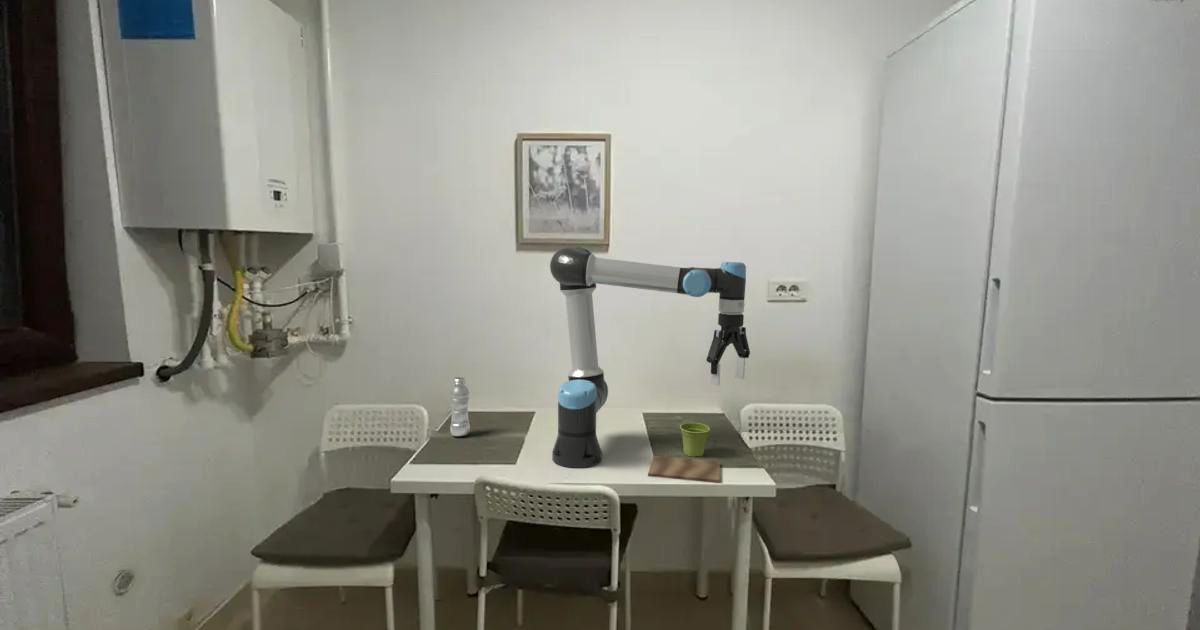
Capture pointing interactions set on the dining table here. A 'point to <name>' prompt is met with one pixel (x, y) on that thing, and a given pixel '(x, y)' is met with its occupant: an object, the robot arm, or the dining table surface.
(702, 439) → the plant pot
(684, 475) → the walnut board
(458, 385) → the plastic bottle
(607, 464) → the dining table surface
